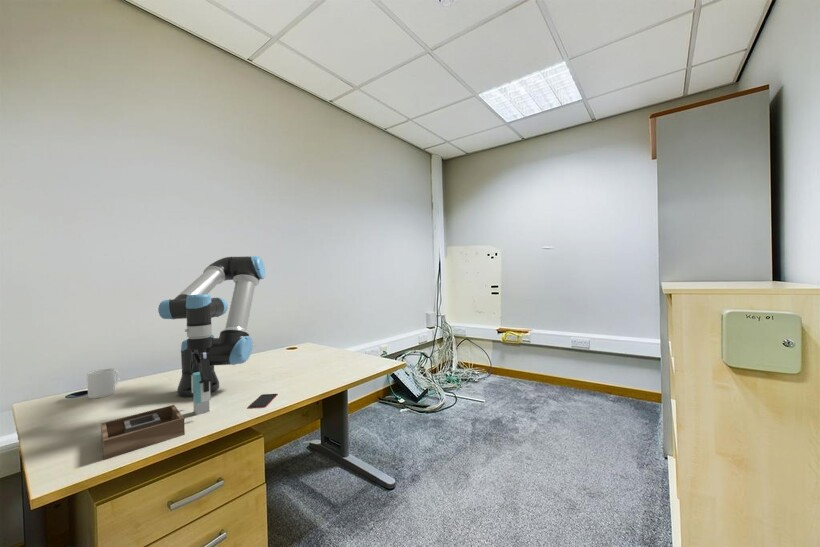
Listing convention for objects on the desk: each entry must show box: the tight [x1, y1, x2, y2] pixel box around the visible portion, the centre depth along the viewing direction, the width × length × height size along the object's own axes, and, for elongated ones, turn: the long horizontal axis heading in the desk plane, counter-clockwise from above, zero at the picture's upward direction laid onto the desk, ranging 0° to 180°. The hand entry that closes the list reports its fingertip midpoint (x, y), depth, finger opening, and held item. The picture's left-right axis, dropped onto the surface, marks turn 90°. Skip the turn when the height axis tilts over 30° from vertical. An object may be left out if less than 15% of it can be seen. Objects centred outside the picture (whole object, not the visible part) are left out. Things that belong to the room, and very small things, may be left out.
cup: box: [86, 367, 120, 399], centre depth 139 cm, size 8×12×10 cm
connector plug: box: [192, 372, 210, 416], centre depth 116 cm, size 4×4×14 cm
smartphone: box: [246, 393, 278, 410], centre depth 124 cm, size 7×1×14 cm
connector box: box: [100, 404, 186, 460], centre depth 98 cm, size 16×18×5 cm
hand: (200, 396), depth 116 cm, fingers open, 13 cm apart
